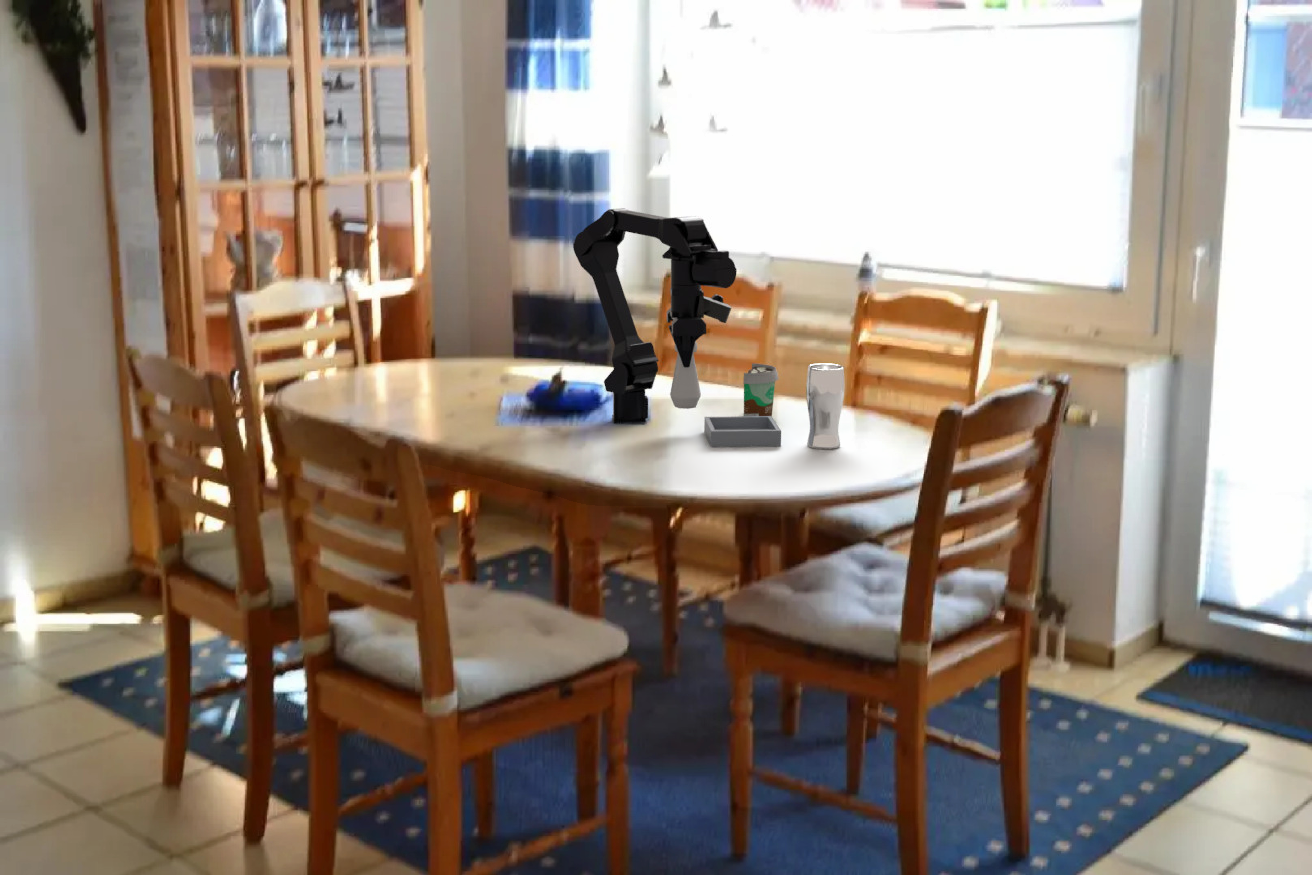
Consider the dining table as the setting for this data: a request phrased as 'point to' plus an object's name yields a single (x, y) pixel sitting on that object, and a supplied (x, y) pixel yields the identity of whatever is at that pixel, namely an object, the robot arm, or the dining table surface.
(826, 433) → the beer glass
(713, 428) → the bin
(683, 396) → the salt shaker
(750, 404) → the food container
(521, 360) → the dining table surface
